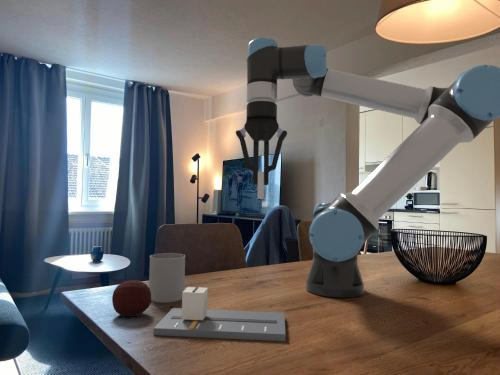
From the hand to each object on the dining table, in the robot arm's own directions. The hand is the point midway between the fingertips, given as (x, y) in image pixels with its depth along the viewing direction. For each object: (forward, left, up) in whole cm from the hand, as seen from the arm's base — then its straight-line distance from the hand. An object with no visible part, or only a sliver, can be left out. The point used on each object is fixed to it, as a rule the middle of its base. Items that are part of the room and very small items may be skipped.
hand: (260, 198), depth 90 cm
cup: (+22, +2, -25) cm, 33 cm away
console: (+6, +20, -24) cm, 32 cm away
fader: (+11, +20, -23) cm, 33 cm away
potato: (+25, +16, -25) cm, 39 cm away
